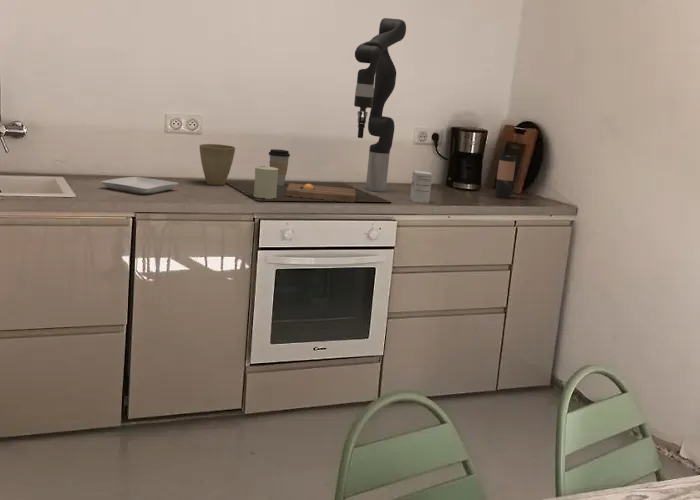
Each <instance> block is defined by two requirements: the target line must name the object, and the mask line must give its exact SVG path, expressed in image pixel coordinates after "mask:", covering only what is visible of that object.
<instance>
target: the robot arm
mask: <svg viewBox="0 0 700 500" xmlns="http://www.w3.org/2000/svg"><path fill="white" fill-rule="evenodd" d="M378 28H379V29H378V34H377V35H374V37H372V38H371V39H370V40H368V41H365V42H363V43H360V44H359V45H358V46H357V47H356V49H355V51H354V57H355V60H356V61H357V62H358V63H362V64H369V65H368V67H366V68H361V69H359V70H358V71H357V76H356V77H357V79H356V85H355V92H354V107H357V108H359V110H358V111H357V128H358V129H357V138H358V139H363V138H364V132H365V131H364V130H365V126H366V124H367V130H368V133H369V135H371V136H373V137H378V141H377V142H376V143H373V144H370V146H369V150H368V163H367V172H366V183H365V191H370V192H371V191H372V192H381V193H382V192H386V190H387V183H388V174H389V173H388V171H389V163H390V154H391V153H390V152H391V149H392V146H393V141H394V135H395V121H394V119H393V118H391V117H389V116H383V113H384V112H383V111H384V107H385V105H386V102H387V100H389V98H390V95H392V93H393V91H394V90H395V86H396V81H397V69H396V67H395V64H394V62H393V59H392V58H391V55H390V52H389V48H390V47H391V46H392V45H395V44H396V43H399V42H401V41H403V39H404V38H405V36H406V33H407V25H406V21H404V20H403V19H399V18H387V17H383V18H382V19H381V20H380V22H379V27H378ZM367 109H370V112H369V118H368V121H367V117H368V112H367V111H366V110H367Z"/></svg>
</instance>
